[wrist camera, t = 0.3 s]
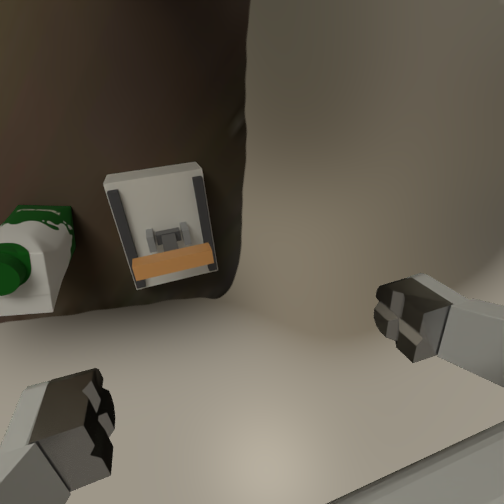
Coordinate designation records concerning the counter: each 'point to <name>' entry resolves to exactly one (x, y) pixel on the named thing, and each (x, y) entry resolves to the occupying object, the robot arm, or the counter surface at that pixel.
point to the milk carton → (34, 257)
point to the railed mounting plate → (127, 236)
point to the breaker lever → (171, 256)
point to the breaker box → (160, 210)
